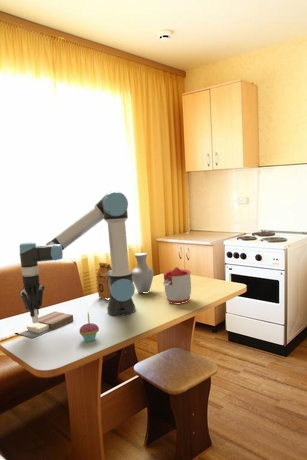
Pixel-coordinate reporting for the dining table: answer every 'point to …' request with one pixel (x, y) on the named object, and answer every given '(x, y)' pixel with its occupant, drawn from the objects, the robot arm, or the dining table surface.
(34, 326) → the tile
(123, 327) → the dining table surface
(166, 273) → the citrus juicer
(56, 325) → the board
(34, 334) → the mat
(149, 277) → the vase
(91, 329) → the cupcake
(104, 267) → the coffee package
